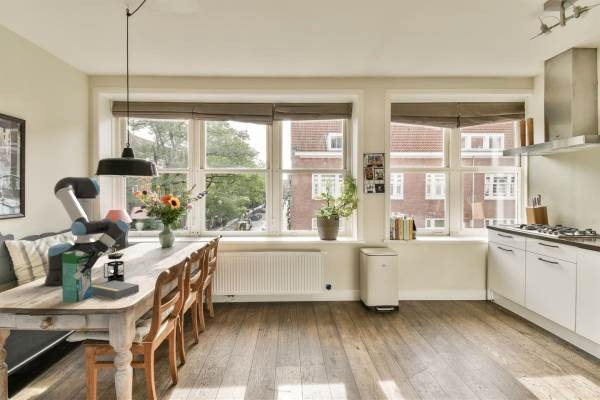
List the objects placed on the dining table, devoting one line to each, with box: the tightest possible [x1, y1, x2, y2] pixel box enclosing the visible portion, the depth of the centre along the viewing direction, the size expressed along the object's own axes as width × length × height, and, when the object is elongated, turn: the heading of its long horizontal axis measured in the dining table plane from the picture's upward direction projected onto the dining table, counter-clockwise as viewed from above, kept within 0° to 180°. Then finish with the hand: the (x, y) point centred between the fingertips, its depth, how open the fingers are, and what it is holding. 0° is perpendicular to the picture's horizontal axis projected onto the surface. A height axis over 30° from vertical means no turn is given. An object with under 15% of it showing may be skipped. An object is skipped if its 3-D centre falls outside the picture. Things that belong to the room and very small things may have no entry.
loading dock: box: [91, 280, 140, 300], centre depth 184 cm, size 20×14×4 cm
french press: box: [103, 244, 125, 283], centre depth 205 cm, size 12×9×23 cm
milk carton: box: [62, 250, 93, 303], centre depth 173 cm, size 9×9×25 cm
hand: (71, 275), depth 172 cm, fingers open, 13 cm apart
